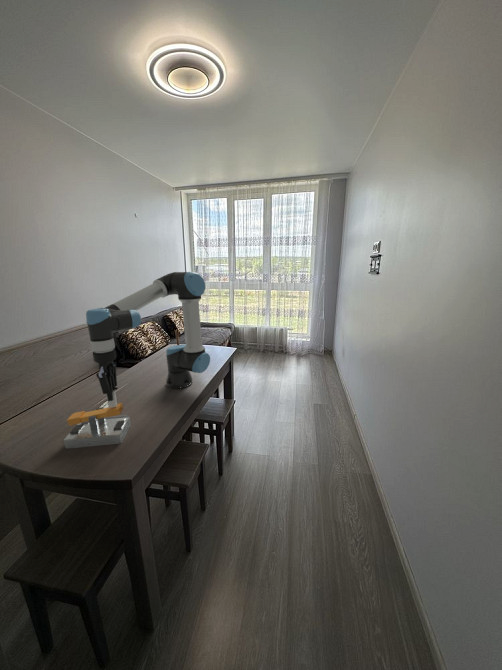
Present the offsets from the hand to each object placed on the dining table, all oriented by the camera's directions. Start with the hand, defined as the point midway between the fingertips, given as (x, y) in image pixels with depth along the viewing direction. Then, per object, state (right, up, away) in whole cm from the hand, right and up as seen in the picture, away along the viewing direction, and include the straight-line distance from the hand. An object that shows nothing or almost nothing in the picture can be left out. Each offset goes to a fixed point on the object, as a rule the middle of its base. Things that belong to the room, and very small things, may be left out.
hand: (113, 406), depth 101 cm
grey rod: (-8, -10, +13) cm, 19 cm away
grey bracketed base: (-7, -13, +3) cm, 15 cm away
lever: (-7, -3, 0) cm, 7 cm away
